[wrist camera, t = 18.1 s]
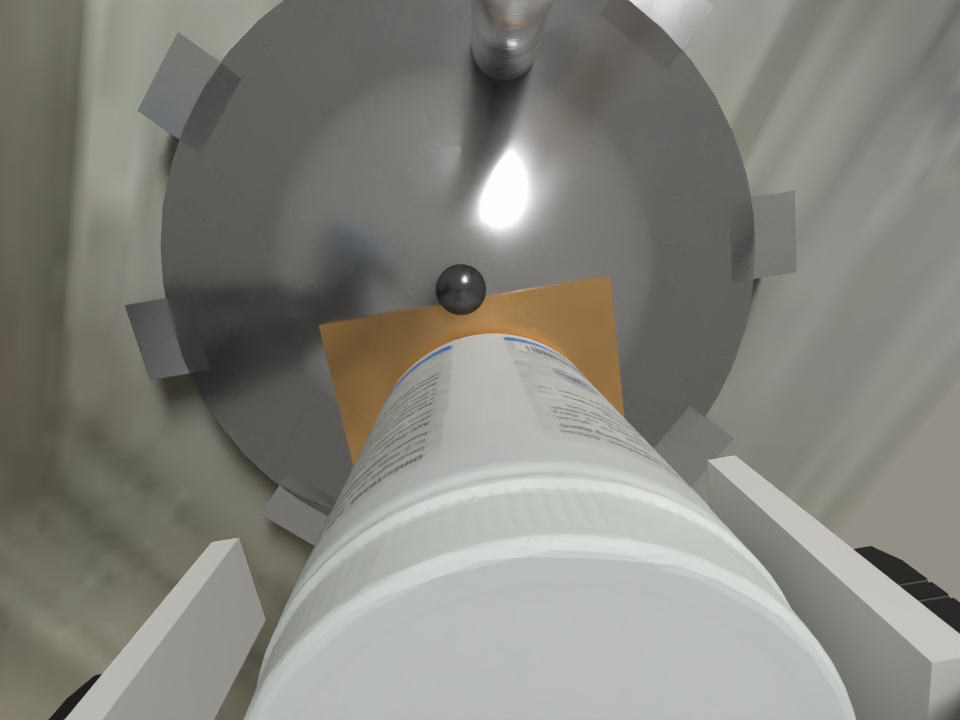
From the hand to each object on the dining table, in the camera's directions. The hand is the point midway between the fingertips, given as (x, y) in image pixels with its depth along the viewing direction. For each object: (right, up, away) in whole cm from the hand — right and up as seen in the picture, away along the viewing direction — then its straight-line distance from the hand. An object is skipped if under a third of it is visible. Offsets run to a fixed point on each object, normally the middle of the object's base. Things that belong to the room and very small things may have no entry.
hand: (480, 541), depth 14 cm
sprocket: (-1, +8, +8) cm, 12 cm away
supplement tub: (+1, +2, +8) cm, 8 cm away
